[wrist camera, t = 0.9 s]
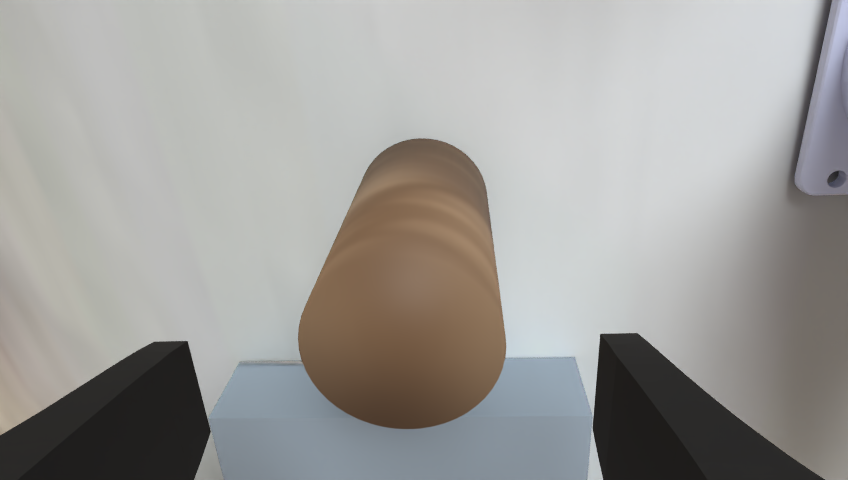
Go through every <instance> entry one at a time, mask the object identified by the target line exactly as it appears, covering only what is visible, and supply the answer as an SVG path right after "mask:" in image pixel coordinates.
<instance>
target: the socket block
mask: <svg viewBox="0 0 848 480" xmlns="http://www.w3.org/2000/svg"><path fill="white" fill-rule="evenodd" d="M208 419H209V423H210V427H211V431H212V435H213V439H214V442H215V446H216V450H217V454H218V458H219V462H220V466H221V470H222V474H223V478H224V480H587V477H588V465H589V453H590V441H591V428H592V413H591V409H590V406H589V403H588V399H587V396H586V393H585V390H584V386H583V383H582V380H581V376H580V373H579V370H578V366H577V363H576V360H575V357H570V358H505V361H504V365H503V369H502V371H501V374H500V376H499V379H498V381H497V382H496V384H495V386H494V387H493V389H492V390H491V391H490V393H489V394H488V395H487V396H486V398H485V399H484V400H482V401H481V402H480V403H479V404H478V405H477V406H476V407H475V408H473V409H472V410H470V411H469V412H467V413H466V414H464V415H462V416H460V417H458V418H457V419H454V420H452V421H449V422H447V423H444V424H440V425H437V426H433V427H427V428H421V429H394V428H387V427H381V426H378V425H374V424H370V423H367V422H365V421H362V420H359V419H357V418H355V417H353V416H351V415H349V414H347V413H345V412H344V411H342V410H341V409H339V408H337V407H336V406H335V405H334V404H332V403H331V402H330V401H329V400H327V398H326V397H325V396H324V395H323V394H322V393H321V392H320V391H319V390H318V389H317V388H316V386H315V385H314V384H313V382H312V381H311V379H310V377H309V376H308V374H307V372H306V370H305V367H304V365H303V362H302V361H269V362H239V364H238V366H237V368H236V370H235V371H234V373H233V375H232V377H231V379H230V380H229V382H228V384H227V386H226V388H225V389H224V391H223V393H222V395H221V397H220V398H219V400H218V402H217V404H216V406H215V408H214V409H213V411H212V413H211V415H210V417H209V418H208Z"/></svg>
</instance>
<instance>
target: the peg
mask: <svg viewBox="0 0 848 480" xmlns="http://www.w3.org/2000/svg"><path fill="white" fill-rule="evenodd" d="M298 342H299V351H300V355H301V359H302V362H303V365H304V367H305V370H306V372H307V374H308V376H309V377H310V379H311V381H312V382H313V384H314V385H315V386H316V388H317V389H318V390H319V391H320V392H321V393H322V394H323V395H324V396H325V397H326V398H327V400H329V401H330V402H331V403H332V404H334V405H335V406H336V407H337V408H339V409H341V410H342V411H344V412H345V413H347V414H349V415H351V416H353V417H355V418H357V419H359V420H362V421H365V422H367V423H370V424H374V425H378V426H381V427H387V428H394V429H421V428H427V427H433V426H437V425H440V424H444V423H447V422H449V421H452V420H454V419H457V418H458V417H460V416H462V415H464V414H466V413H467V412H469V411H470V410H472V409H473V408H475V407H476V406H477V405H478V404H479V403H480V402H481V401H482V400H484V399H485V398H486V396H487V395H488V394H489V393H490V391H491V390H492V389H493V387H494V386H495V384H496V382H497V381H498V379H499V376H500V374H501V371H502V369H503V365H504V361H505V354H506V338H505V329H504V322H503V314H502V306H501V299H500V291H499V283H498V276H497V268H496V260H495V253H494V245H493V238H492V230H491V222H490V215H489V207H488V199H487V192H486V187H485V183H484V180H483V177H482V175H481V173H480V171H479V169H478V168H477V166H476V165H475V164H474V162H473V161H472V160H471V159H470V158H469V157H468V156H467V155H466V154H464V153H463V152H462V151H461V150H459V149H457V148H456V147H454V146H452V145H450V144H448V143H445V142H442V141H438V140H433V139H411V140H406V141H402V142H400V143H397V144H395V145H393V146H391V147H389V148H387V149H386V150H384V151H383V152H382V153H380V154H379V155H378V156H377V157H376V158H375V159H374V160H373V162H372V163H371V164H370V166H369V167H368V169H367V171H366V173H365V175H364V177H363V179H362V181H361V184H360V186H359V188H358V190H357V193H356V195H355V197H354V199H353V201H352V204H351V206H350V208H349V210H348V213H347V215H346V217H345V219H344V221H343V224H342V226H341V228H340V230H339V232H338V235H337V237H336V239H335V241H334V244H333V246H332V248H331V250H330V252H329V255H328V257H327V259H326V261H325V264H324V266H323V268H322V270H321V272H320V275H319V277H318V279H317V281H316V283H315V286H314V288H313V290H312V292H311V295H310V297H309V299H308V301H307V303H306V306H305V308H304V311H303V313H302V316H301V320H300V324H299V333H298Z"/></svg>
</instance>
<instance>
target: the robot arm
mask: <svg viewBox="0 0 848 480" xmlns="http://www.w3.org/2000/svg"><path fill="white" fill-rule="evenodd" d="M838 170H839V175H838V177H837V179H836V180H834V181H833V182H831V183H828V184H827V179H828V177H829V175H830V174H832V173H833V172H835V171H838ZM795 184H796V186H797V188H798V189H800V190H801V191H803V192H804V193H806V194H808V195H814V196H817V195H848V0H832V4H831V9H830V13H829V18H828V23H827V27H826V32H825V37H824V42H823V46H822V51H821V56H820V60H819V65H818V70H817V74H816V79H815V84H814V88H813V93H812V98H811V102H810V107H809V112H808V116H807V121H806V126H805V130H804V135H803V140H802V145H801V149H800V154H799V159H798V163H797V168H796V173H795ZM210 432H211V431H210V427H209V423H208V419H207V416H206V412H205V408H204V404H203V400H202V396H201V392H200V388H199V384H198V380H197V377H196V373H195V369H194V365H193V361H192V357H191V353H190V349H189V345H188V341H171V342H153V343H151V344H149V345H147V346H145V347H143V348H142V349H140V350H138V351H136V352H135V353H133V354H131V355H130V356H128V357H126V358H125V359H123V360H121V361H120V362H118V363H117V364H115V365H113V366H112V367H110V368H109V369H107V370H105V371H104V372H102V373H101V374H99V375H98V376H96V377H94V378H93V379H91V380H90V381H88V382H87V383H85V384H83V385H82V386H80V387H79V388H77V389H76V390H74V391H72V392H71V393H69V394H68V395H66V396H65V397H63V398H61V399H60V400H58V401H57V402H55V403H53V404H52V405H50V406H49V407H47V408H46V409H44V410H42V411H41V412H39V413H38V414H36V415H34V416H32V417H31V418H29V419H27V420H26V421H24V422H22V423H21V424H19V425H17V426H16V427H14V428H12V429H11V430H9V431H7V432H6V433H4V434H2V435H0V480H194V478H195V475H196V473H197V470H198V467H199V465H200V462H201V459H202V456H203V453H204V450H205V447H206V444H207V441H208V438H209V435H210ZM593 433H594V438H595V442H596V447H597V452H598V457H599V462H600V466H601V471H602V475H603V480H825V479H823V478H822V477H820V476H818V475H817V474H815V473H814V472H812V471H811V470H809V469H808V468H806V467H805V466H803V465H802V464H800V463H799V462H797V461H796V460H794V459H793V458H792V457H790V456H789V455H787V454H786V453H785V452H783V451H782V450H780V449H779V448H778V447H776V446H775V445H774V444H772V443H771V442H770V441H768V440H767V439H765V438H764V437H763V436H761V435H760V434H759V433H757V432H756V431H755V430H753V429H752V428H750V427H749V426H748V425H747V424H745V423H744V422H743V421H741V420H740V419H739V418H738V417H736V416H735V415H734V414H732V413H731V412H730V411H729V410H727V409H726V408H725V407H724V406H722V405H721V404H720V403H719V402H717V401H716V400H715V399H714V398H713V397H711V396H710V395H709V394H708V393H706V392H705V391H704V390H703V389H702V388H700V387H699V386H698V385H697V384H696V383H695V382H693V381H692V380H691V379H690V378H689V377H687V376H686V375H685V374H684V373H683V372H682V371H681V370H679V369H678V368H677V367H676V366H675V365H674V364H672V363H671V362H670V361H669V360H668V359H667V358H666V357H664V356H663V355H662V354H661V353H660V352H659V351H658V350H656V349H655V348H654V347H653V346H652V345H651V344H650V343H648V342H647V341H646V340H645V339H644V338H642V337H641V336H640V335H639V334H638V333H626V334H600V346H599V358H598V370H597V382H596V395H595V407H594V419H593Z"/></svg>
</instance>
